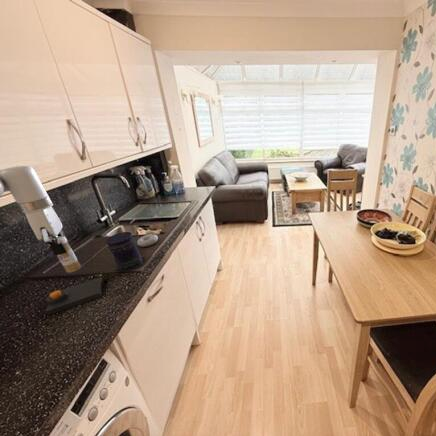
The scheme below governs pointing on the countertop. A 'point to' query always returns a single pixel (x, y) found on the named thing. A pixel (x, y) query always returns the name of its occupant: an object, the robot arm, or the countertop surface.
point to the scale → (75, 295)
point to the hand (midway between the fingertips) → (62, 250)
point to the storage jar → (124, 251)
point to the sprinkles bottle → (68, 257)
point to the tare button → (55, 294)
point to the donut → (147, 240)
